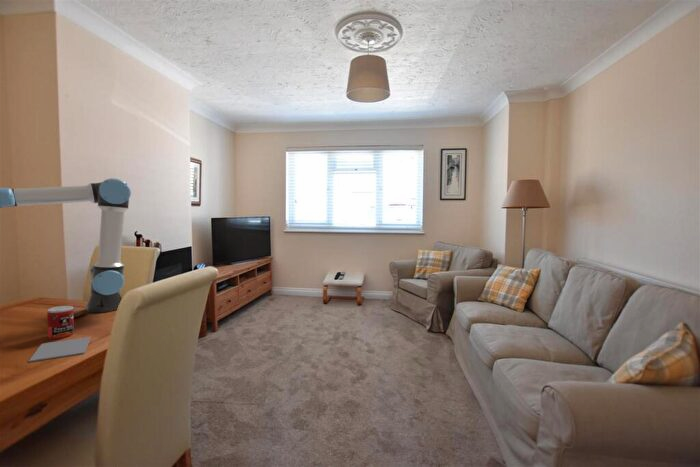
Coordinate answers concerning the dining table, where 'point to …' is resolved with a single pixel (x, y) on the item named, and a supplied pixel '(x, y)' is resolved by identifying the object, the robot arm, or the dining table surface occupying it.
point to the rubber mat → (60, 349)
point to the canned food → (60, 322)
